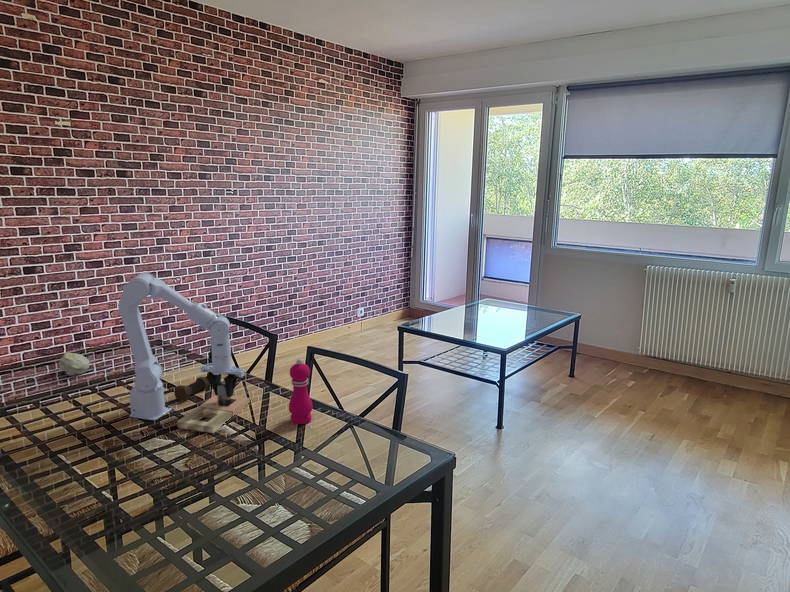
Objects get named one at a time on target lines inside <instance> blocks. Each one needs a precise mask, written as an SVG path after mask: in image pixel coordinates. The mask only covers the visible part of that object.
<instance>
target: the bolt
mask: <svg viewBox="0 0 790 592" xmlns="http://www.w3.org/2000/svg"><path fill="white" fill-rule="evenodd" d="M209 386H211V384H210V382H209V381H208V380H207V378H206V376H199V377H197V378H196V379H195V382H192V383H190V384H188V385H182V384H179V385H177V386H176V388H175V389H174V392H173V393H174V396H175V398H176V400H177V401H179V402H187V401H188V400H189V399H190V396H191V395H193V394H194V393H197V392H198V391H206V390H207V389H208V388H209Z"/></svg>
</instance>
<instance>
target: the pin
mask: <svg viewBox="0 0 790 592" xmlns="http://www.w3.org/2000/svg"><path fill="white" fill-rule="evenodd" d="M217 398H218V406H224V407H228V406H229V405H231V397H228V396H227V388H226V384H225V381H224V380H223V381H222V380H221V382H219V383H217Z"/></svg>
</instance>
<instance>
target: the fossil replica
mask: <svg viewBox="0 0 790 592" xmlns="http://www.w3.org/2000/svg"><path fill="white" fill-rule="evenodd" d="M90 365H91V362H90V359H89V358H87V357H85V356H84V355H83V354H80V353H77V352H75V353H74V352H65V353H64V354H63V356H62V357H60V359H59V362H58V366H59V370H61V371H62V372H65V374H66V375H68V376H69V377H72V376H77V375H82V374H84V373H86V371H88V370H89V368H90Z"/></svg>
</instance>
